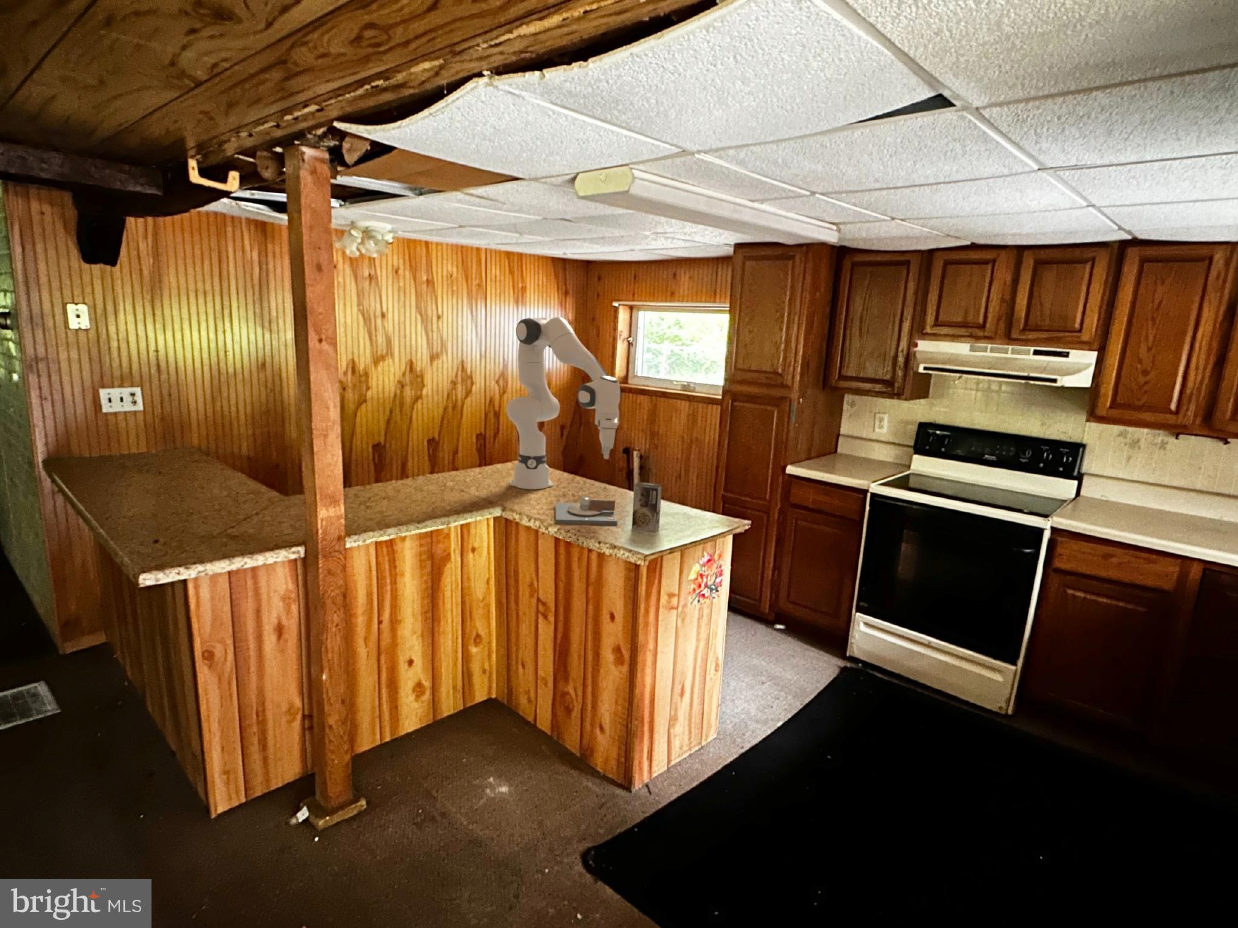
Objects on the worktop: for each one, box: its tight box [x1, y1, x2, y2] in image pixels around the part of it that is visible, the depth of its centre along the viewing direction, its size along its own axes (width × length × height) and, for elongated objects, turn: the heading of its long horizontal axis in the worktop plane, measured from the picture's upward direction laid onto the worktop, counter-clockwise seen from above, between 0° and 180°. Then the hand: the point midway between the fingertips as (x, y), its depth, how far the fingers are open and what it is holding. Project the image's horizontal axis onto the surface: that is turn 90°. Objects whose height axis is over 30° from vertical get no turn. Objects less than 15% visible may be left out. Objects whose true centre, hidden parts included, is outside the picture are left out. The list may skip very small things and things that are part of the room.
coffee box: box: [631, 481, 663, 533], centre depth 233 cm, size 9×6×16 cm
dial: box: [568, 496, 616, 516], centre depth 246 cm, size 18×13×5 cm
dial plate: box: [554, 502, 618, 526], centre depth 246 cm, size 22×22×2 cm
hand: (605, 456), depth 248 cm, fingers open, 8 cm apart
